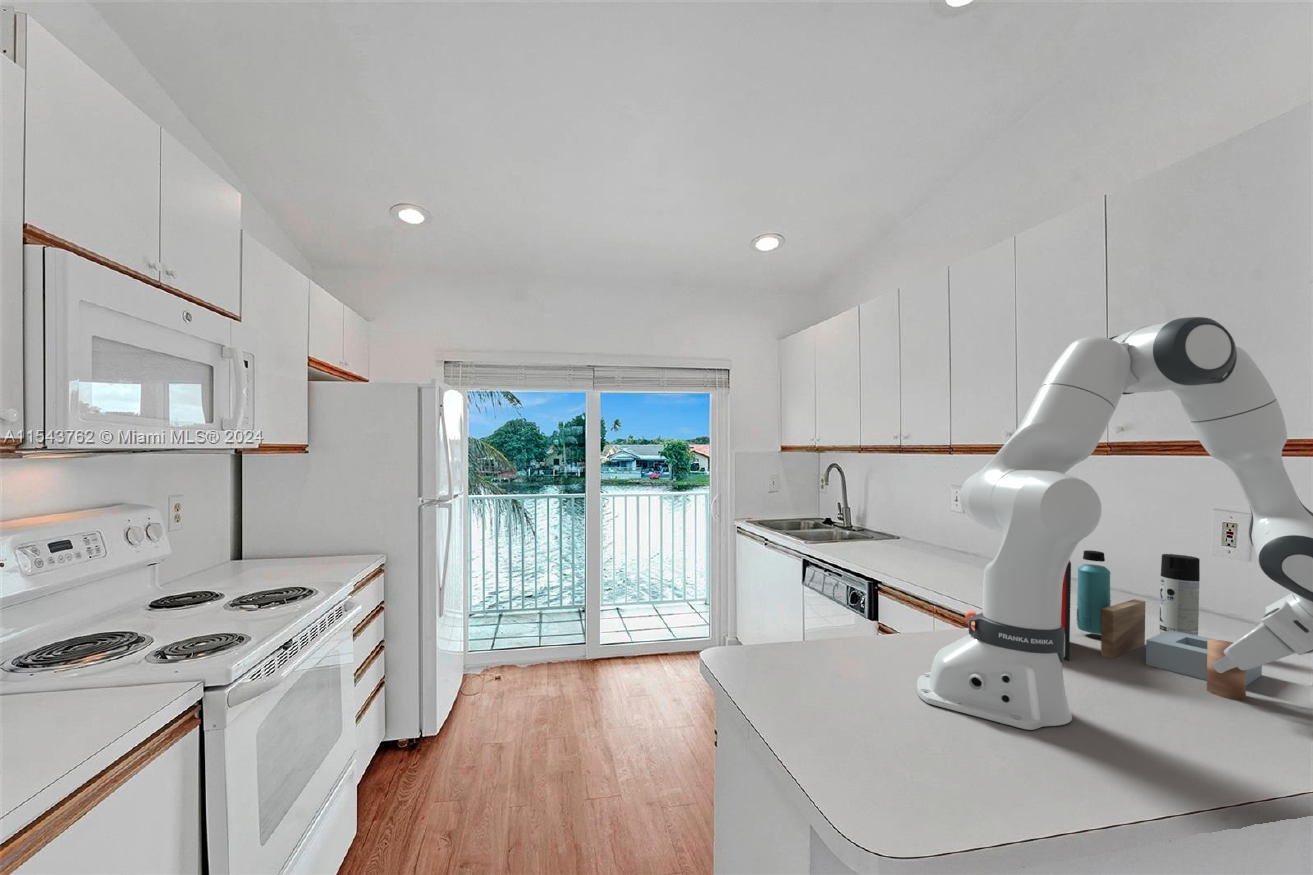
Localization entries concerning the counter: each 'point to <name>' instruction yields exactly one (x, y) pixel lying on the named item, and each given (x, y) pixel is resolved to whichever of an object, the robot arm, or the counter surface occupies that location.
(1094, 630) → the beverage bottle
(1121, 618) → the backstop board
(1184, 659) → the square socket block
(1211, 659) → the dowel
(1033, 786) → the counter surface
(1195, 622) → the spray can
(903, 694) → the counter surface
